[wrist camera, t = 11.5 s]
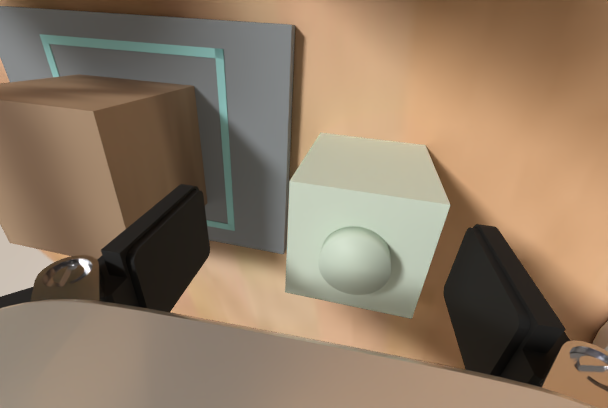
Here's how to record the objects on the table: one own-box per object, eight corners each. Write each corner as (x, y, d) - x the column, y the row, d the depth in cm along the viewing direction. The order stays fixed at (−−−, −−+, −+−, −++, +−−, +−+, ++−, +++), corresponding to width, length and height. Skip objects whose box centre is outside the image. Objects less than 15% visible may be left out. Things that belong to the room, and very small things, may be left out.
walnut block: (194, 85, 15) (92, 111, 9) (207, 203, 18) (137, 270, 13) (79, 74, 16) (-69, 91, 11) (111, 187, 19) (10, 242, 14)
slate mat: (295, 25, 13) (291, 24, 12) (286, 248, 19) (283, 254, 18) (-7, 5, 16) (-21, 4, 15) (68, 207, 21) (59, 212, 21)
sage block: (425, 144, 14) (455, 216, 8) (402, 232, 17) (413, 334, 11) (320, 132, 15) (283, 190, 9) (313, 217, 17) (280, 305, 12)
